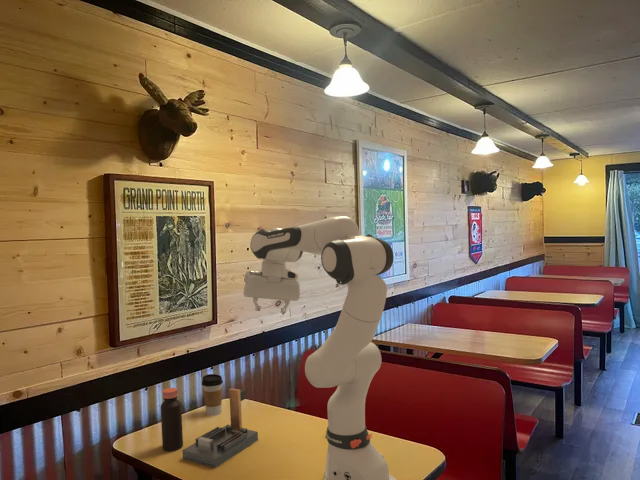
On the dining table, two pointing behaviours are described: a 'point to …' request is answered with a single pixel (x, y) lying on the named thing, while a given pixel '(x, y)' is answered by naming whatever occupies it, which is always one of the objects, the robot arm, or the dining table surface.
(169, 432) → the bottle
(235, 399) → the brown and black bar
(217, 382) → the coffee cup
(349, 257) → the robot arm
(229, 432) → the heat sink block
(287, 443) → the dining table surface
